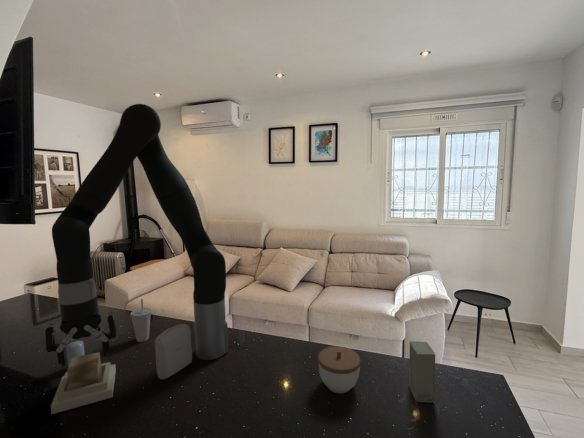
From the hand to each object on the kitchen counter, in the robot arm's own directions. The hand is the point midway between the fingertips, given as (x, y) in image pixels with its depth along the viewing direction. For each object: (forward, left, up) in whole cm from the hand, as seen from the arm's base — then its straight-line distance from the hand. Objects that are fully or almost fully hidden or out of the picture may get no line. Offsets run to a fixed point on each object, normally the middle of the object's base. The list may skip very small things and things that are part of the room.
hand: (85, 359), depth 76 cm
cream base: (0, 0, -8) cm, 8 cm away
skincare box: (-74, +40, -9) cm, 84 cm away
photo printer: (-21, +1, -9) cm, 22 cm away
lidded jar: (-58, +28, -9) cm, 65 cm away
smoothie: (-13, -22, -9) cm, 27 cm away
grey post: (+4, -13, -9) cm, 16 cm away
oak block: (0, 0, -6) cm, 6 cm away
